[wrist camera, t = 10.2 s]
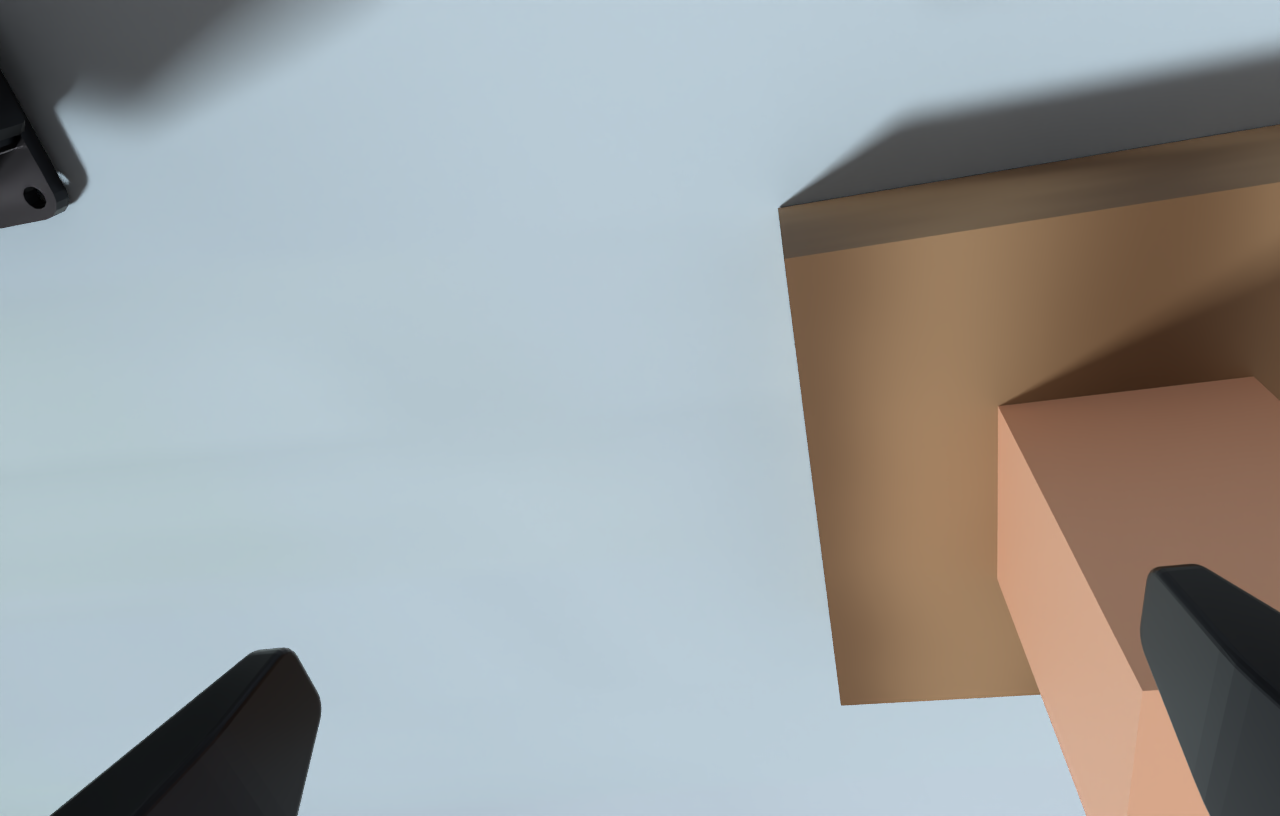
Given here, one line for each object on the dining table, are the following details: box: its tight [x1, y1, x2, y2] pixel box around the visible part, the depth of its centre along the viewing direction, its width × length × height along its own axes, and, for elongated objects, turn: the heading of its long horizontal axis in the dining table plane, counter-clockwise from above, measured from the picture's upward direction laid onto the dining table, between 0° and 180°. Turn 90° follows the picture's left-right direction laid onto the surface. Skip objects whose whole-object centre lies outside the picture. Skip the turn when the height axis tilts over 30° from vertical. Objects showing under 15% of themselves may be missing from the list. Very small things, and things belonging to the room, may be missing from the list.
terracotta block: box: [997, 376, 1280, 816], centre depth 14 cm, size 4×4×7 cm
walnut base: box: [778, 125, 1280, 705], centre depth 19 cm, size 12×12×3 cm
